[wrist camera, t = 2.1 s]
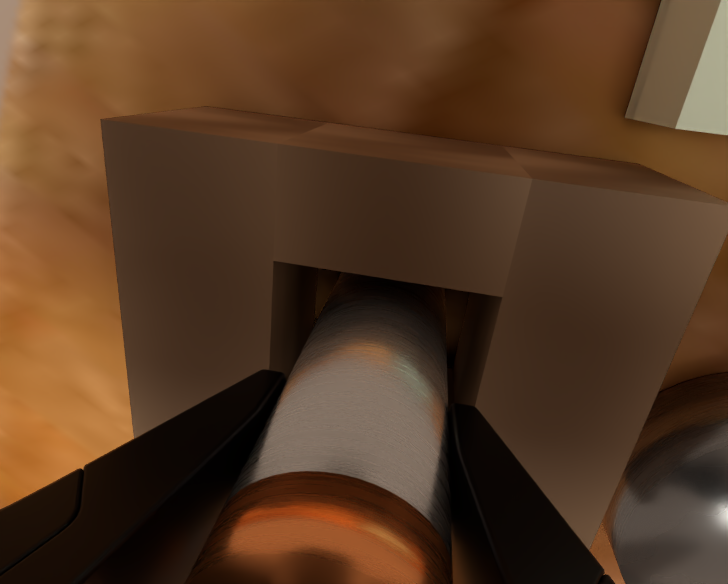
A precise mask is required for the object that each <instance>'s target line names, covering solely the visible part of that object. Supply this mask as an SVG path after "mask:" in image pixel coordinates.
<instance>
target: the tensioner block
mask: <svg viewBox="0 0 728 584" xmlns="http://www.w3.org/2000/svg"><path fill="white" fill-rule="evenodd" d="M101 129H102V138H103V148H104V157H105V167H106V176H107V186H108V195H109V205H110V214H111V224H112V233H113V243H114V252H115V262H116V272H117V281H118V291H119V300H120V310H121V319H122V329H123V338H124V348H125V357H126V367H127V376H128V386H129V395H130V405H131V414H132V424H133V433H134V438H136V437H138V436H140V435H142V434H143V433H145V432H147V431H149V430H151V429H153V428H155V427H156V426H158V425H160V424H162V423H164V422H166V421H167V420H169V419H171V418H173V417H175V416H177V415H178V414H180V413H182V412H184V411H186V410H188V409H189V408H191V407H193V406H195V405H197V404H199V403H201V402H202V401H204V400H206V399H208V398H210V397H212V396H213V395H215V394H217V393H219V392H221V391H223V390H224V389H226V388H228V387H230V386H232V385H234V384H235V383H237V382H239V381H241V380H243V379H245V378H246V377H248V376H250V375H252V374H254V373H256V372H258V371H259V370H262V369H267V370H273V371H279V372H283V373H284V374H285V375H286V379H288V377H289V375H290V373H291V371H292V369H293V367H294V365H295V363H296V361H297V359H298V357H299V355H300V353H301V351H302V349H303V348H304V346H305V344H306V342H307V340H308V338H309V336H310V334H311V332H312V330H313V324H314V312H315V299H316V286H317V274H318V268H322V269H328V270H335V271H341V272H347V273H354V274H360V275H366V276H373V277H379V278H385V279H391V280H398V281H404V282H410V283H417V284H423V285H429V286H436V287H442V288H448V289H454V290H461V291H467V292H470V294H469V298H468V303H467V307H466V312H465V316H464V321H463V325H462V330H461V335H460V339H459V344H458V348H457V353H456V357H455V362H454V366H453V369H452V368H447V383H448V412H449V408H450V406H451V404H453V403H459V404H465V405H471V406H475V407H476V408H477V409H478V410H479V411H480V412H481V413H482V415H483V416H484V417H485V419H486V420H487V421H488V422H489V424H490V425H491V426H492V427H493V429H494V430H495V431H496V433H497V434H498V435H499V436H500V438H501V439H502V440H503V441H504V443H505V444H506V445H507V447H508V448H509V449H510V450H511V452H512V453H513V454H514V455H515V457H516V458H517V459H518V461H519V462H520V463H521V464H522V466H523V467H524V468H525V469H526V471H527V472H528V473H529V475H530V476H531V477H532V478H533V480H534V481H535V482H536V483H537V485H538V486H539V487H540V489H541V490H542V491H543V492H544V494H545V495H546V496H547V498H548V499H549V500H550V501H551V503H552V504H553V505H554V506H555V508H556V509H557V510H558V512H559V513H560V514H561V515H562V517H563V518H564V519H565V520H566V522H567V523H568V524H569V526H570V527H571V528H572V529H573V531H574V532H575V533H576V534H577V536H578V537H579V538H580V540H581V541H582V542H583V543H584V545H585V546H586V547H587V548H588V550H589V549H590V547H591V545H592V543H593V540H594V538H595V536H596V533H597V531H598V529H599V527H600V524H601V522H602V520H603V517H604V515H605V513H606V511H607V508H608V506H609V504H610V501H611V499H612V497H613V495H614V492H615V490H616V488H617V485H618V483H619V481H620V479H621V476H622V474H623V472H624V469H625V467H626V465H627V462H628V460H629V458H630V456H631V453H632V451H633V449H634V446H635V444H636V442H637V440H638V437H639V435H640V433H641V430H642V428H643V426H644V424H645V421H646V419H647V417H648V414H649V412H650V410H651V408H652V405H653V403H654V401H655V398H656V396H657V394H658V392H659V389H660V387H661V385H662V382H663V380H664V378H665V376H666V373H667V371H668V369H669V366H670V364H671V362H672V360H673V357H674V355H675V353H676V350H677V348H678V346H679V344H680V341H681V339H682V337H683V334H684V332H685V330H686V328H687V325H688V323H689V321H690V318H691V316H692V314H693V312H694V309H695V307H696V305H697V302H698V300H699V298H700V296H701V293H702V291H703V289H704V286H705V284H706V282H707V280H708V277H709V275H710V273H711V270H712V268H713V266H714V264H715V261H716V259H717V257H718V254H719V252H720V250H721V248H722V245H723V243H724V241H725V238H726V236H727V234H728V202H726V201H723V200H721V199H719V198H716V197H714V196H712V195H709V194H707V193H705V192H702V191H700V190H698V189H696V188H693V187H691V186H689V185H686V184H684V183H682V182H679V181H677V180H675V179H672V178H670V177H668V176H666V175H663V174H661V173H659V172H656V171H654V170H652V169H649V168H647V167H645V166H643V165H640V164H635V163H628V162H620V161H613V160H605V159H598V158H590V157H583V156H575V155H568V154H560V153H553V152H545V151H538V150H530V149H523V148H515V147H508V146H500V145H493V144H485V143H478V142H470V141H463V140H455V139H448V138H440V137H433V136H425V135H418V134H410V133H403V132H395V131H388V130H380V129H373V128H365V127H358V126H350V125H343V124H335V123H328V122H320V121H313V120H305V119H298V118H290V117H283V116H275V115H268V114H260V113H253V112H245V111H238V110H230V109H223V108H215V107H208V106H204V107H196V108H188V109H180V110H172V111H163V112H155V113H147V114H139V115H131V116H122V117H114V118H106V119H101Z"/></svg>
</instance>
